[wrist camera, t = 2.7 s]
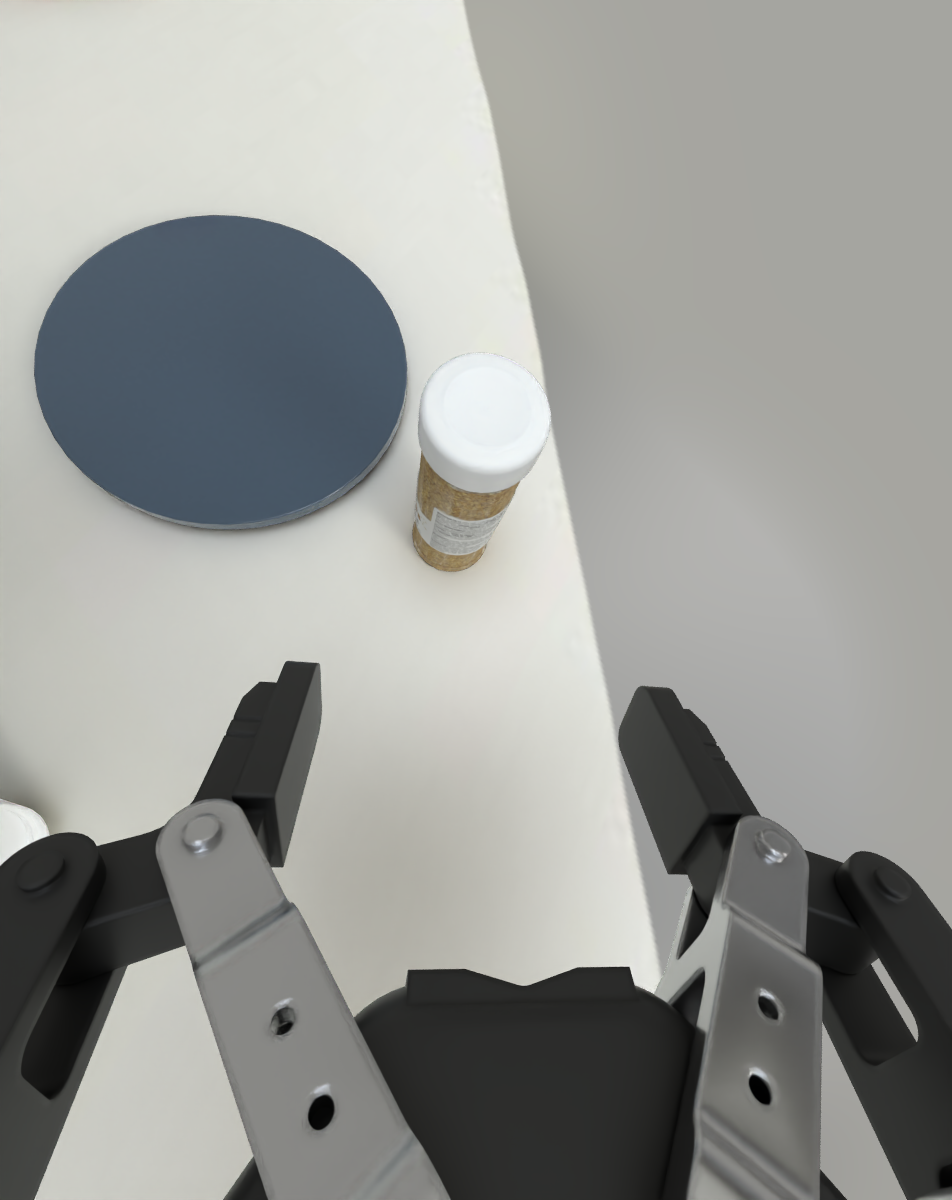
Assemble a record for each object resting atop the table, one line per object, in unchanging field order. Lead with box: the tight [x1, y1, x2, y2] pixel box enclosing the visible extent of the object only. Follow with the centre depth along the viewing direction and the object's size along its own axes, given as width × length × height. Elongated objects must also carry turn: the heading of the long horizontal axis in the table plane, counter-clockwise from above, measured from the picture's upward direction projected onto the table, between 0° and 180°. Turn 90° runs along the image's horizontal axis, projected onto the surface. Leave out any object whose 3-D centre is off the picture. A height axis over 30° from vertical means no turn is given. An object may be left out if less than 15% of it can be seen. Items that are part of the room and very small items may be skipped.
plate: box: [34, 215, 407, 530], centre depth 29 cm, size 20×20×2 cm
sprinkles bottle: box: [413, 353, 551, 571], centre depth 23 cm, size 5×5×13 cm
